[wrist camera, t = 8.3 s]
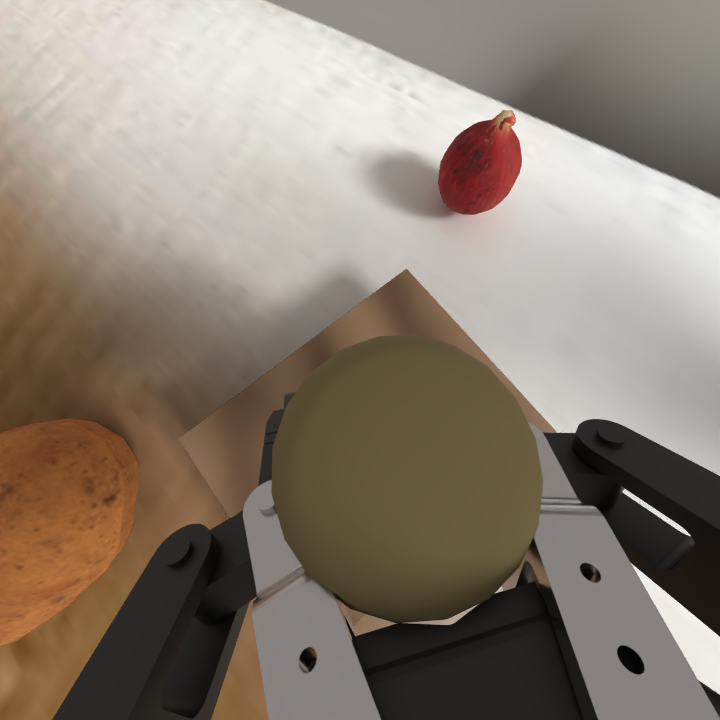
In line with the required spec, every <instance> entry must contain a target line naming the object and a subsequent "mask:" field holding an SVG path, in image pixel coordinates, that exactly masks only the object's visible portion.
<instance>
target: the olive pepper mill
mask: <svg viewBox="0 0 720 720" xmlns="http://www.w3.org/2000/svg"><path fill="white" fill-rule="evenodd" d="M542 491H543V476H542V471H541V465H540V459H539V454H538V448H537V442H536V438H535V436H534V434H533V432H532V430H531V428H530V426H529V424H528V422H527V420H526V418H525V416H524V414H523V411H522V409H521V407H520V405H519V403H518V401H517V399H516V397H515V396H514V395H513V394H512V392H511V391H510V390H509V389H508V388H507V387H506V386H505V385H504V384H503V382H502V381H501V380H500V379H499V378H498V377H497V376H496V375H495V374H494V373H493V371H492V370H491V369H490V368H489V367H488V366H487V365H485V364H484V363H482V362H480V361H479V360H477V359H476V358H474V357H472V356H471V355H469V354H467V353H466V352H464V351H463V350H461V349H459V348H458V347H456V346H455V345H452V344H448V343H445V342H441V341H437V340H433V339H430V338H426V337H422V336H419V335H398V336H377V337H375V338H372V339H369V340H366V341H363V342H360V343H357V344H355V345H352V346H349V347H346V348H343V349H341V350H340V351H338V352H337V353H336V354H334V355H333V356H332V357H330V358H329V359H328V360H326V361H325V362H324V363H323V364H321V365H320V366H319V367H317V368H316V369H315V370H313V371H312V372H311V373H309V375H308V376H307V377H306V379H305V380H304V382H303V383H302V384H301V386H300V387H299V389H298V390H297V391H296V393H295V394H294V396H293V397H292V398H291V400H290V401H289V403H288V404H287V405H286V408H285V411H284V414H283V417H282V420H281V423H280V426H279V429H278V432H277V435H276V438H275V441H274V444H273V448H272V489H271V494H272V498H273V501H274V505H275V508H276V512H277V515H278V519H279V522H280V526H281V529H282V533H283V536H284V540H285V541H286V543H287V544H288V546H289V547H290V548H291V550H292V551H293V553H294V554H295V556H296V557H297V559H298V560H299V562H300V563H301V565H302V566H303V568H304V569H305V571H306V572H307V574H308V575H309V576H310V577H311V578H312V579H313V580H315V581H316V582H318V583H319V584H321V585H322V586H324V587H326V588H327V589H329V590H330V591H332V592H333V593H334V595H335V597H336V599H338V600H339V601H340V602H342V603H343V604H344V605H345V606H347V607H348V608H349V609H351V610H355V611H358V612H361V613H365V614H368V615H371V616H374V617H378V618H381V619H384V620H388V621H391V622H394V623H405V622H418V621H431V620H444V619H448V618H451V617H453V616H455V615H457V614H459V613H461V612H463V611H465V610H467V609H469V608H471V607H473V606H476V605H478V604H480V603H482V602H484V601H486V600H488V599H489V598H490V597H491V596H492V595H493V594H494V593H495V592H496V591H497V590H498V589H499V588H500V587H501V586H502V585H503V584H504V583H505V582H506V581H507V580H508V579H509V577H510V576H511V575H512V574H513V573H514V572H515V571H516V570H517V569H518V568H519V567H520V565H521V563H522V561H523V559H524V556H525V554H526V552H527V550H528V548H529V545H530V543H531V541H532V539H533V537H534V534H535V532H536V530H537V528H538V525H539V516H540V508H541V499H542Z"/></svg>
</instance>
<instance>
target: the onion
mask: <svg viewBox="0 0 720 720" xmlns="http://www.w3.org/2000/svg"><path fill="white" fill-rule="evenodd" d="M515 122H516V118H515V115H514V113H513V111H512V110H510V111H505V110H503V111H502V112H501V113H500V114H499V115H497V116H496V117H495V118H494V119H492V120H487V121H482V122H478V123H475V124H474V125H472V126H470V127H469V128H467V129H466V130H464V131H463V132H461V133H460V134H459V135H458V136H457V137H456V138H455V139H454V141H453V142H452V143H451V145H450V146H449V148H448V149H447V151H446V152H445V154H444V156H443V158H442V160H441V164H440V170H439V178H438V186H439V190H440V193H441V197H442V200H443V202H444V203H445V204H446V205H447V206H448V207H449V208H450V209H451V210H453V211H455V212H458V213H460V214H469V215H475V214H478V213H481V212H485V211H487V210H490V209H492V208H494V207H495V206H496V205H497V204H499V203H500V202H501V201H502V200H503V199H504V198H505V197H506V196H507V195H508V194H509V192H510V190H511V188H512V187H513V185H514V183H515V181H516V179H517V177H518V175H519V173H520V169H521V164H522V156H521V148H520V143H519V140H518V137H517V136H516V134H515V133H514V131H513V130H512V128H511V126H513V125H514V124H515Z"/></svg>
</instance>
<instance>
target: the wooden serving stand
mask: <svg viewBox="0 0 720 720" xmlns="http://www.w3.org/2000/svg"><path fill="white" fill-rule="evenodd" d="M398 335H419V336H422V337H426V338H430V339H433V340H437V341H441V342H445V343H448V344H452V345H455V346H456V347H458V348H459V349H461V350H463V351H464V352H466V353H467V354H469V355H471V356H472V357H474V358H476V359H477V360H479V361H480V362H482V363H484V364H485V365H487V366H488V367H489V368H490V369H491V370H492V371H493V373H494V374H495V375H496V376H497V377H498V378H499V379H500V380H501V381H502V382H503V384H504V385H505V386H506V387H507V388H508V389H509V390H510V391H511V392H512V394H513V395H514V396H515V397H516V399H517V401H518V403H519V405H520V407H521V409H522V411H523V414H524V416H525V418H526V420H527V422H528V423H530V424H532V425H534V426H536V427H537V428H538V429H539V430H540V431H541V432H545V433H555V432H556V431H555V430H554V429H553V428H552V426H551V425H550V424H549V423H548V422H547V421H546V420H545V419H544V418H543V417H542V416H541V415H540V413H539V412H538V411H537V410H536V409H535V408H534V407H533V406H532V405H531V404H530V403H529V401H528V400H527V399H526V398H525V397H524V396H523V395H522V394H521V393H520V392H519V391H518V389H517V388H516V387H515V386H514V385H513V384H512V383H511V382H510V381H509V380H508V379H507V378H506V376H505V375H504V374H503V373H502V372H501V371H500V370H499V369H498V368H497V367H496V366H495V364H494V363H493V362H492V361H491V360H490V359H489V358H488V357H487V356H486V355H485V354H484V353H483V351H482V350H481V349H480V348H479V347H478V346H477V345H476V344H475V343H474V342H473V341H472V339H471V338H470V337H469V336H468V335H467V334H466V333H465V332H464V331H463V330H462V329H461V327H460V326H459V325H458V324H457V323H456V322H455V321H454V320H453V319H452V318H451V317H450V316H449V314H448V313H447V312H446V311H445V310H444V309H443V308H442V307H441V306H440V305H439V304H438V302H437V301H436V300H435V299H434V298H433V297H432V296H431V295H430V294H429V293H428V292H427V290H426V289H425V288H424V287H423V286H422V285H421V284H420V283H419V282H418V281H417V280H416V279H415V277H414V276H413V275H412V274H411V273H410V272H409V271H408V270H407V269H406V270H404V271H403V272H402V273H400V274H399V275H398V276H396V277H395V278H394V279H392V280H391V281H389V282H388V283H387V284H385V285H384V286H383V287H381V288H380V289H379V290H377V291H376V292H375V293H373V294H372V295H371V296H369V297H368V298H367V299H365V300H364V301H363V302H361V303H360V304H359V305H357V306H356V307H355V308H353V309H352V310H351V311H349V312H348V313H347V314H345V315H344V316H343V317H341V318H340V319H338V320H337V321H336V322H334V323H333V324H332V325H330V326H329V327H328V328H326V329H325V330H324V331H322V332H321V333H320V334H318V335H317V336H316V337H314V338H313V339H312V340H310V341H309V342H308V343H306V344H305V345H304V346H302V347H301V348H300V349H298V350H297V351H296V352H294V353H293V354H292V355H290V356H289V357H287V358H286V359H285V360H283V361H282V362H281V363H279V364H278V365H277V366H275V367H274V368H273V369H271V370H270V371H269V372H267V373H266V374H265V375H263V376H262V377H261V378H259V379H258V380H257V381H255V382H254V383H253V384H251V385H250V386H249V387H247V388H246V389H245V390H243V391H242V392H241V393H239V394H238V395H237V396H235V397H234V398H232V399H231V400H230V401H228V402H227V403H226V404H224V405H223V406H222V407H220V408H219V409H218V410H216V411H215V412H214V413H212V414H211V415H210V416H208V417H207V418H206V419H204V420H203V421H202V422H200V423H199V424H198V425H196V426H195V427H194V428H192V429H191V430H190V431H188V432H187V433H186V434H184V435H183V436H181V437H180V438H179V441H180V442H181V444H182V445H183V447H184V448H185V450H186V451H187V453H188V454H189V456H190V457H191V459H192V460H193V462H194V464H195V465H196V467H197V468H198V470H199V471H200V473H201V474H202V476H203V477H204V479H205V480H206V482H207V483H208V485H209V486H210V488H211V490H212V491H213V493H214V494H215V496H216V497H217V499H218V500H219V502H220V503H221V505H222V506H223V508H224V509H225V511H226V512H227V514H228V516H229V517H230V518H232V517H233V516H235V515H236V514H238V513H239V512H240V511H242V510H243V508H244V505H245V502H246V500H247V499H248V497H249V495H250V494H251V493H252V492H253V491H254V490H255V489H256V488H257V487H258V483H259V475H260V468H261V460H262V452H263V446H264V437H265V429H266V422H267V421H268V419H269V417H270V416H271V414H272V413H273V411H276V410H280V409H284V396H285V394H288V393H292V392H296V391H297V390H298V389H299V387H300V386H301V384H302V383H303V382H304V380H305V379H306V377H307V376H308V375H309V373H311V372H312V371H313V370H315V369H316V368H317V367H319V366H320V365H321V364H323V363H324V362H325V361H326V360H328V359H329V358H330V357H332V356H333V355H334V354H336V353H337V352H338V351H340V350H341V349H343V348H346V347H349V346H352V345H355V344H357V343H360V342H363V341H366V340H369V339H372V338H375V337H377V336H398ZM345 607H346V610H347V612H348V614H349V617H350V619H351V621H352V624H353V626H354V625H355V624H356V623H357V622H358V621H359V620H360V619H361V618H362V617H363V616H364V615H366V614H365V613H361V612H358V611H355V610H351V609H349V608H348V607H347V606H345Z"/></svg>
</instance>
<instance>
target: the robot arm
mask: <svg viewBox="0 0 720 720" xmlns="http://www.w3.org/2000/svg"><path fill="white" fill-rule="evenodd" d="M295 393H296V392H292V393H288V394H285V396H284V409H280V410H276V411H273V413H272V414H271V416H270V417H269V419H268V421H267V422H266V429H265V437H264V446H263V452H262V460H261V468H260V475H259V483H258V487H257V488H256V489H255V490H254V491H253V492H252V493H251V494H250V495H249V497H248V499H247V500H246V502H245V505H244V508H243V510H242V511H240V512H239V513H238V514H236V515H235V516H233V517H232V518H230V519H228V520H226V521H225V522H223V523H221V524H219V525H218V526H216V527H214V528H213V529H211V530H209V529H208V528H207V527H205V526H204V525H201V524H191V525H187V526H185V527H182V528H181V529H179V530H177V531H176V532H174V533H173V534H171V535H170V536H169V537H168V538H167V539H166V540H165V541H164V542H163V543H162V544H161V545H160V546H159V548H158V549H157V551H156V552H155V553H154V555H153V557H152V558H151V560H150V562H149V563H148V565H147V566H146V568H145V570H144V571H143V573H142V575H141V576H140V578H139V579H138V581H137V583H136V584H135V586H134V588H133V589H132V591H131V592H130V594H129V596H128V597H127V599H126V601H125V602H124V604H123V605H122V607H121V609H120V610H119V612H118V614H117V615H116V617H115V618H114V620H113V622H112V623H111V625H110V627H109V628H108V630H107V631H106V633H105V635H104V636H103V638H102V640H101V641H100V643H99V644H98V646H97V648H96V649H95V651H94V653H93V654H92V656H91V657H90V659H89V661H88V662H87V664H86V666H85V667H84V669H83V670H82V672H81V674H80V675H79V677H78V679H77V680H76V682H75V683H74V685H73V687H72V688H71V690H70V692H69V693H68V695H67V696H66V698H65V700H64V701H63V703H62V704H61V706H60V708H59V709H58V711H57V713H56V714H55V716H54V717H53V719H52V720H211V718H212V715H213V712H214V709H215V706H216V703H217V699H218V696H219V693H220V690H221V687H222V684H223V681H224V678H225V675H226V672H227V669H228V666H229V663H230V660H231V657H232V654H233V651H234V648H235V645H236V642H237V639H238V635H239V632H240V629H241V626H242V623H243V620H244V617H245V614H246V611H247V608H248V605H249V602H250V601H251V600H252V599H254V598H255V597H257V598H256V600H255V601H254V602H253V606H252V616H253V624H254V631H255V637H256V643H257V649H258V656H259V662H260V668H261V674H262V680H263V687H264V693H265V699H266V705H267V712H268V718H269V720H720V695H719V694H718V693H716V692H715V691H713V690H712V689H710V688H709V687H708V686H706V685H705V684H703V683H702V682H700V681H699V680H698V679H697V678H696V676H695V674H694V672H693V671H692V669H691V667H690V665H689V664H688V662H687V660H686V658H685V657H684V655H683V653H682V651H681V650H680V648H679V646H678V645H677V643H676V641H675V639H674V638H673V636H672V634H671V632H670V631H669V629H668V627H667V625H666V624H665V622H664V620H663V618H662V617H661V615H660V613H659V611H658V610H657V608H656V606H655V604H654V603H653V601H652V599H651V598H650V596H649V594H648V592H647V591H646V589H645V587H644V585H643V584H642V582H641V580H640V578H639V577H638V575H637V573H636V571H635V570H634V568H633V566H632V564H633V565H634V566H635V567H637V568H638V569H639V570H640V571H641V572H643V573H644V574H645V575H646V576H647V577H649V578H650V579H651V580H652V581H653V582H655V583H656V584H657V585H658V586H660V587H661V588H662V589H663V590H664V591H666V592H667V593H668V594H669V595H670V596H672V597H673V598H674V599H675V600H676V601H678V602H679V603H680V604H681V605H682V606H684V607H685V608H686V609H687V610H688V611H690V612H691V613H692V614H693V615H695V616H696V617H697V618H698V619H699V620H701V621H702V622H703V623H704V624H705V625H707V626H708V627H709V628H710V629H711V630H713V631H714V632H715V633H716V634H717V635H719V636H720V476H719V475H717V474H715V473H713V472H711V471H709V470H707V469H705V468H703V467H701V466H699V465H698V464H696V463H694V462H692V461H690V460H688V459H686V458H684V457H682V456H680V455H678V454H676V453H675V452H673V451H671V450H669V449H667V448H665V447H663V446H661V445H659V444H657V443H655V442H653V441H651V440H650V439H648V438H646V437H644V436H642V435H640V434H638V433H636V432H634V431H632V430H630V429H628V428H627V427H625V426H622V425H620V424H618V423H615V422H612V421H607V420H601V419H591V420H586V421H584V422H582V423H581V424H579V426H578V428H577V431H576V433H545V432H541V431H540V430H539V429H538V428H537V427H536V426H534V425H532V424H530V423H528V424H529V426H530V428H531V430H532V432H533V434H534V436H535V438H536V442H537V448H538V454H539V459H540V465H541V471H542V476H543V491H542V499H541V508H540V516H539V525H538V528H537V530H536V532H535V534H534V537H533V539H532V541H531V543H530V545H529V548H528V550H527V552H526V554H525V556H524V559H523V561H522V563H521V565H520V567H519V568H518V569H517V570H516V571H515V572H514V573H513V574H512V575H511V576H510V577H509V579H508V580H507V581H506V582H505V583H504V584H503V585H502V588H503V591H502V592H499V593H495V594H493V595H492V596H491V597H490V598H489V599H488V600H486V601H484V602H482V603H480V604H479V605H477V606H476V607H475V608H474V609H472V610H471V611H470V612H468V613H467V614H466V615H465V616H463V617H462V618H461V619H459V620H458V621H457V622H455V623H454V624H451V625H430V624H408V623H397V624H394V625H391V626H388V627H384V628H381V629H378V630H375V631H371V632H368V633H365V634H362V635H358V636H357V633H356V631H355V628H354V626H353V624H352V621H351V619H350V617H349V614H348V612H347V610H346V607H345V605H344V604H343V603H342V602H340V601H339V600H338V599H336V597H335V595H334V593H333V592H332V591H330V590H329V589H327V588H326V587H324V586H322V585H321V584H319V583H318V582H316V581H315V580H313V579H312V578H311V577H310V576H309V575H308V574H307V572H306V571H305V569H304V568H303V566H302V565H301V563H300V562H299V560H298V559H297V557H296V556H295V554H294V553H293V551H292V550H291V548H290V547H289V546H288V544H287V543H286V541H285V540H284V536H283V533H282V529H281V526H280V522H279V519H278V515H277V512H276V508H275V505H274V501H273V498H272V494H271V489H272V448H273V444H274V441H275V438H276V435H277V432H278V429H279V426H280V423H281V420H282V417H283V414H284V411H285V408H286V405H287V404H288V403H289V401H290V400H291V398H292V397H293V396H294V394H295ZM624 488H625V489H626V490H628V491H629V492H631V493H632V494H634V495H635V496H637V497H638V498H640V499H641V500H643V501H644V502H646V503H647V504H649V505H650V506H652V507H653V508H655V509H656V510H658V511H659V512H661V513H662V514H664V515H665V516H667V517H668V518H670V519H671V520H673V521H674V522H676V523H677V524H679V525H680V526H682V527H683V528H684V529H685V530H686V531H687V532H688V533H689V534H690V535H691V537H690V536H688V535H685V534H683V533H681V532H680V531H678V530H677V529H675V528H674V527H672V526H671V525H669V524H668V523H666V522H665V521H663V520H662V519H661V518H659V517H658V516H656V515H655V514H653V513H652V512H650V511H649V510H647V509H646V508H644V507H643V506H641V505H640V504H638V503H637V502H636V501H634V500H633V499H631V498H630V497H628V496H627V495H625V494H624V493H622V492H623V490H624ZM630 562H631V563H632V564H631V563H630Z"/></svg>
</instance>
